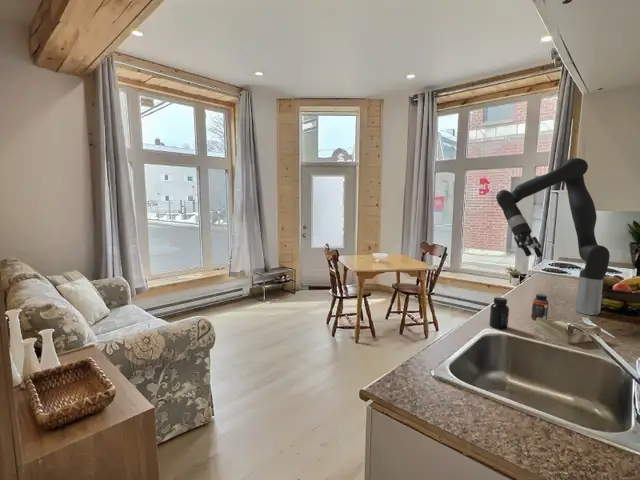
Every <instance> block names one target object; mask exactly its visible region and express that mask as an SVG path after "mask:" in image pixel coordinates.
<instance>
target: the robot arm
mask: <svg viewBox="0 0 640 480" xmlns="http://www.w3.org/2000/svg"><path fill="white" fill-rule="evenodd" d="M588 168H589V165H588V162H587V161H586V160H584V159H583V158H579V157H573V158H569V159H566V160H565V161H563V162H562V164H561V165H560V167H558V168H556V169H554V170H552V171H550V172H547V173H545V174H543V175H539V176H537V177H534V178H532V179H529V180H527V181H524V182H523V183H520V184H519V185H516V186H515V189H513V190H512V191H509V190H507V189H501V190H499V191H498V192H497V194H496V196H495V199H496V201H497V204H498V206H499V207H500V208H501V210H502V212H503V215H504V217H505V219H506V221H507V223H508V227H509V228H510V230H511V233H512V235H513V236H514V237H513V239H514V241H515V243H516V245H517V247H518V248H519V249H521V250H523V252H524V255H525V256H526V257H530V256H531V255H532V252H531V251H530V248H531V249H532V250H533V251H534V253H535V255H536V257H537V258H541V257H542V256H543V252H542V251H541V248H542V246H541V244H540V242H539V240H538V238H537V237H536V236H532V235H531V233H532V232H533V231H532V229H531V227H530V225H529V223H528V221H527V220H526V218H525V216H523V214H522V211H521V210H520V208H519V206H518V205H517V203H519V202H521V201H522V200H523V199H525V198H528V197H529V196H533V195H535V194H537V193H539V192H542V191H543V190H546V189H548V188H550V187H552V186H554V185H557V184H560V183H562V182H564V184H565V187H566V189H567V197H568V201H569V209H570V213H571V217H572V221H573V224H574V228H575V232H576V237H577V245H578V246H577V247H578V254H579V257H580V258H581V260H583V261H584V262H585V266H584V268H583V269H581V270H579V271H580V272H579V277H578V282H577V283H578V285H577V292H576V299H575V308H574V311H575V312H578V313H580V314H585V315H588V316H590V315H591V316H598V315H599V314H601V308H602V302H603V301H602V300H603V294H602V293H603V285H604V278H605V276H606V274H607V272H608V268H609V263H610V257H611V255H610V251H609V249H608V248H607V247H605V246H604V245H600V244H598V242H597V240H596V235H595V234H596V233H595V230H596V229H595V228H596V224H597V223H596V222H597V210H596V207H595V203H594V200H593V198H592V196H591V194H590V192H589V190H588V188H587V186H586V183H585V178H584V175H585V174H586V173H587V172H588Z"/></svg>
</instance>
